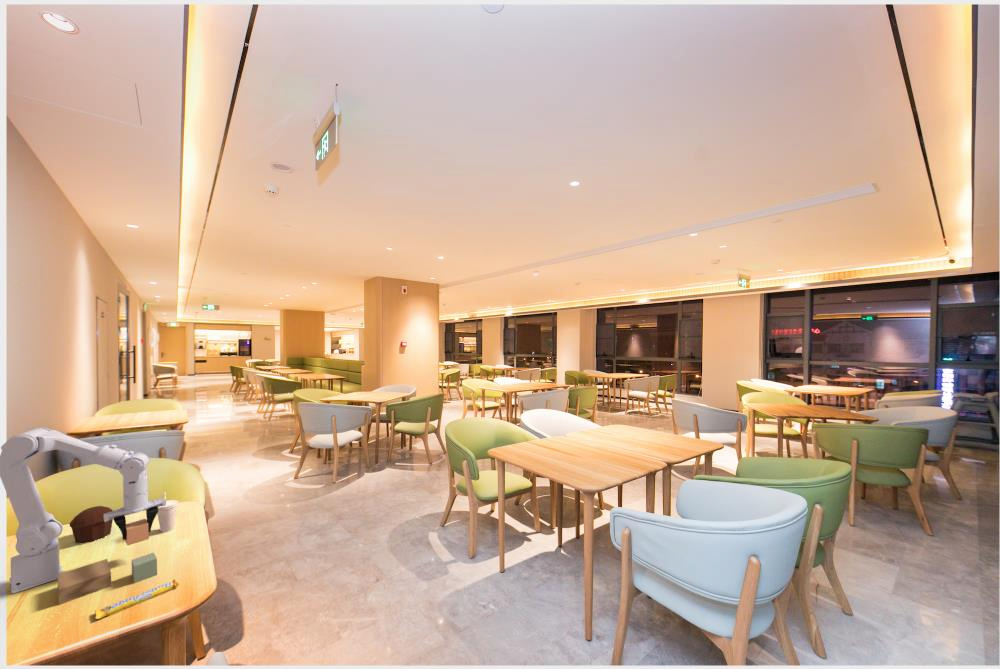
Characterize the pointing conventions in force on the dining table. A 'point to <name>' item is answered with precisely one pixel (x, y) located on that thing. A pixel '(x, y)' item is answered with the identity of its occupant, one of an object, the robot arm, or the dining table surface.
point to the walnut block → (83, 581)
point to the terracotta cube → (137, 532)
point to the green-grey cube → (144, 567)
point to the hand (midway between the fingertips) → (136, 535)
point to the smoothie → (167, 515)
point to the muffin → (91, 524)
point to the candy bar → (135, 600)
